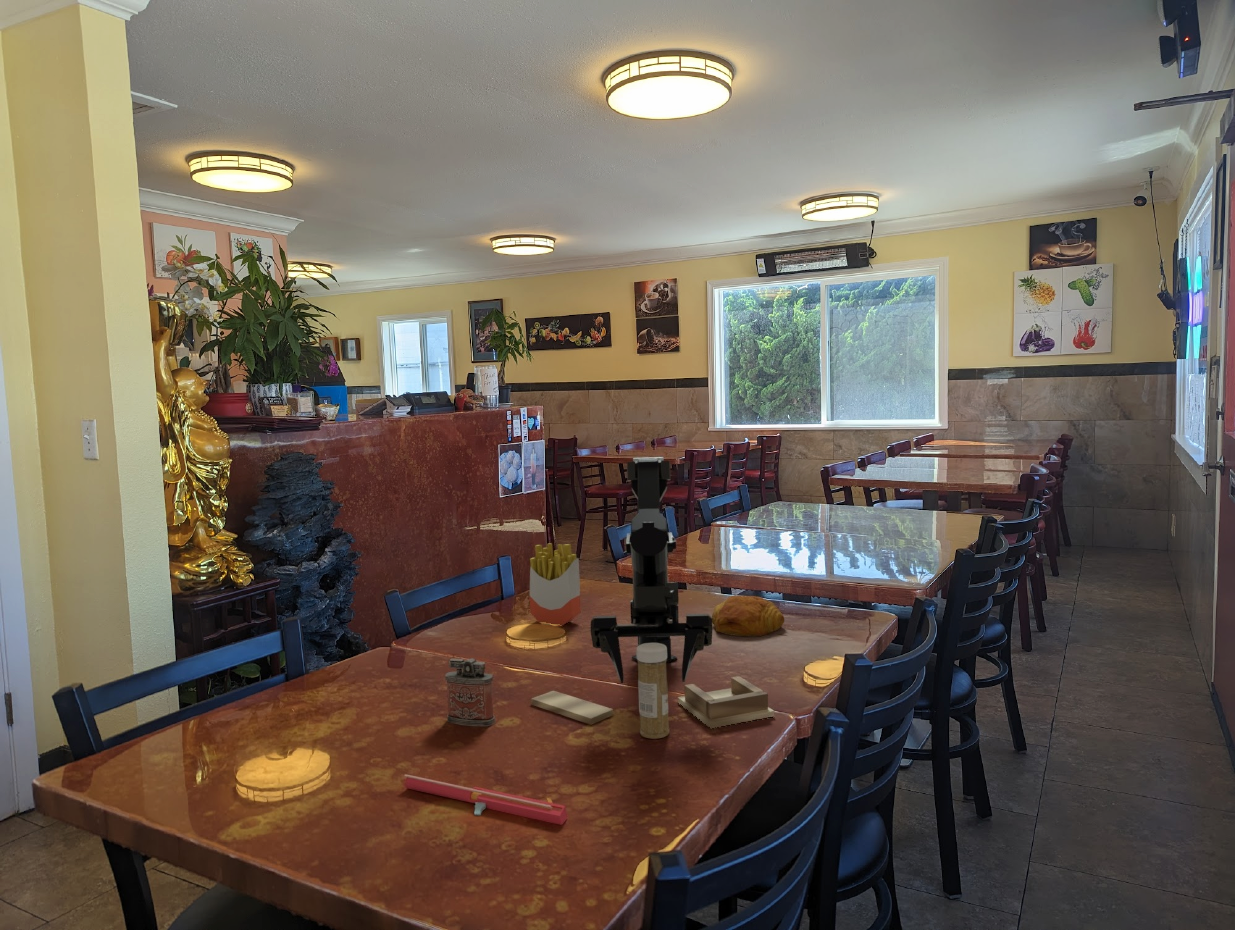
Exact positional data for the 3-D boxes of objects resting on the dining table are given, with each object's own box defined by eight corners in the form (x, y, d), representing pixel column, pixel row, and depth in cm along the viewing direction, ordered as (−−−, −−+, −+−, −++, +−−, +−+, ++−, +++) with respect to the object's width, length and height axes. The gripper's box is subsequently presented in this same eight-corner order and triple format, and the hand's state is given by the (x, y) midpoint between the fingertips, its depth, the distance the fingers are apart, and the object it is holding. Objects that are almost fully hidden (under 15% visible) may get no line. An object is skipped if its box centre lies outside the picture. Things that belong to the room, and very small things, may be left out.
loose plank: (531, 707, 139) (531, 698, 139) (553, 699, 143) (553, 690, 143) (591, 727, 130) (590, 718, 130) (613, 718, 133) (612, 709, 133)
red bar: (555, 840, 98) (573, 811, 102) (551, 826, 97) (570, 797, 101) (395, 802, 108) (417, 777, 112) (391, 789, 108) (413, 765, 112)
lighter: (498, 719, 133) (495, 658, 132) (488, 727, 130) (485, 664, 129) (454, 714, 136) (451, 654, 135) (443, 722, 132) (440, 661, 132)
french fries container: (571, 628, 185) (568, 547, 184) (529, 623, 190) (526, 545, 189) (581, 622, 189) (578, 544, 188) (540, 618, 194) (537, 542, 193)
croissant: (731, 626, 191) (726, 591, 191) (793, 625, 181) (788, 589, 182) (698, 640, 179) (693, 603, 179) (764, 640, 170) (758, 601, 170)
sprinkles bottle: (675, 734, 125) (673, 646, 123) (650, 742, 122) (648, 652, 121) (657, 725, 128) (654, 639, 127) (633, 732, 126) (630, 645, 125)
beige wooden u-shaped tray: (677, 703, 137) (677, 682, 137) (737, 692, 141) (736, 672, 141) (711, 729, 126) (710, 706, 126) (774, 717, 130) (774, 695, 130)
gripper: (589, 565, 129) (585, 656, 119) (710, 562, 128) (717, 654, 118) (594, 603, 138) (592, 691, 127) (708, 600, 137) (714, 689, 127)
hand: (652, 681), depth 125 cm, fingers open, 9 cm apart
